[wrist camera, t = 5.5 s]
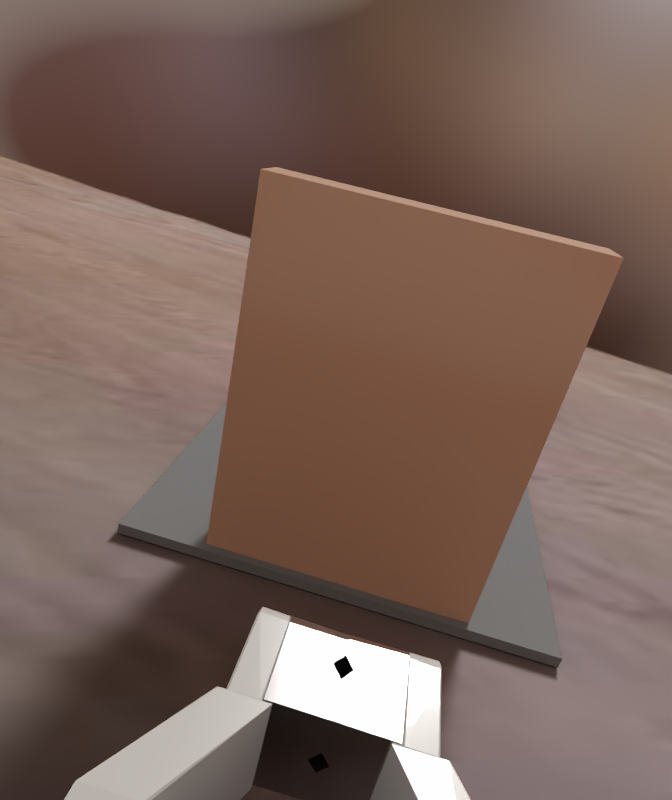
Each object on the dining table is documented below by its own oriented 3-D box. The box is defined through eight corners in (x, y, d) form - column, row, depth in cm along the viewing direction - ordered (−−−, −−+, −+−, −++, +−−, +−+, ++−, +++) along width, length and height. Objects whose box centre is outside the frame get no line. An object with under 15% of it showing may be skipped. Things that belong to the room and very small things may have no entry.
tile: (206, 543, 20) (260, 168, 14) (223, 516, 21) (278, 166, 16) (468, 623, 19) (623, 257, 14) (467, 589, 20) (607, 247, 15)
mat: (117, 533, 20) (118, 523, 20) (255, 375, 33) (256, 369, 33) (557, 667, 19) (562, 658, 18) (514, 447, 32) (517, 441, 32)
